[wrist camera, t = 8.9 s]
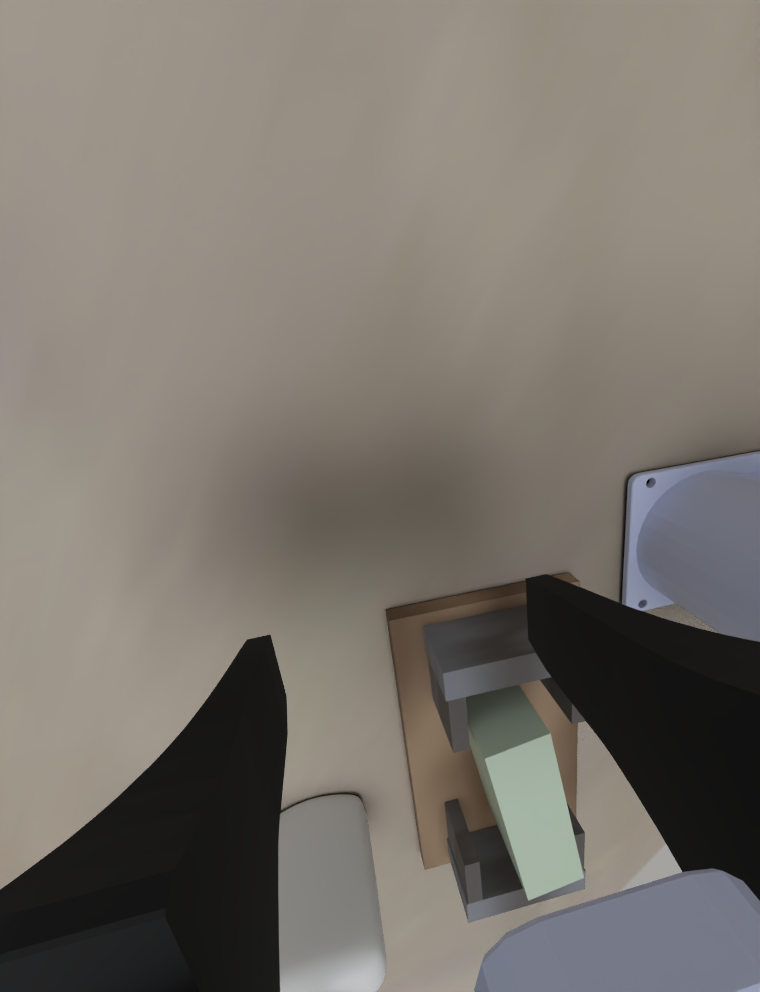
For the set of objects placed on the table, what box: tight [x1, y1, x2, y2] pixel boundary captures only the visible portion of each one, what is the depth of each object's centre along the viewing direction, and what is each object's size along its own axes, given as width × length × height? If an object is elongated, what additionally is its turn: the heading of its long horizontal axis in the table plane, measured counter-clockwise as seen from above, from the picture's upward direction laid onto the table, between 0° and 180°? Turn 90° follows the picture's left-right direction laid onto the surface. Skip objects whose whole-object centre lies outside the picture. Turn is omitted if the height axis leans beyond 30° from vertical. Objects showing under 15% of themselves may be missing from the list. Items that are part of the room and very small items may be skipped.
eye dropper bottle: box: [278, 794, 386, 992], centre depth 21 cm, size 4×6×12 cm
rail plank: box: [466, 685, 584, 901], centre depth 23 cm, size 3×10×5 cm, turn 18°
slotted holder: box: [386, 573, 586, 923], centre depth 24 cm, size 10×18×4 cm, turn 8°
